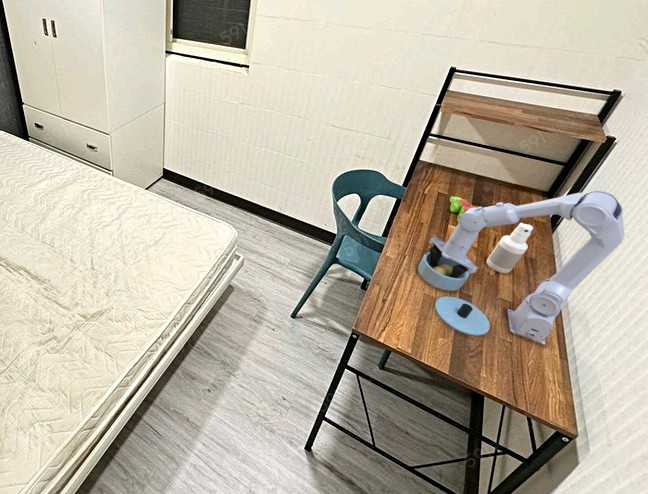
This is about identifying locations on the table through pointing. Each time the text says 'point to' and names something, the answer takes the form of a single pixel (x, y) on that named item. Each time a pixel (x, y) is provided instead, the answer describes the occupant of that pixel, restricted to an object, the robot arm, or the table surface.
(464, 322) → the lid
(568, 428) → the table surface
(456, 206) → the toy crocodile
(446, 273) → the potato
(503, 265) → the spray bottle
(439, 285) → the pot
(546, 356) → the table surface
